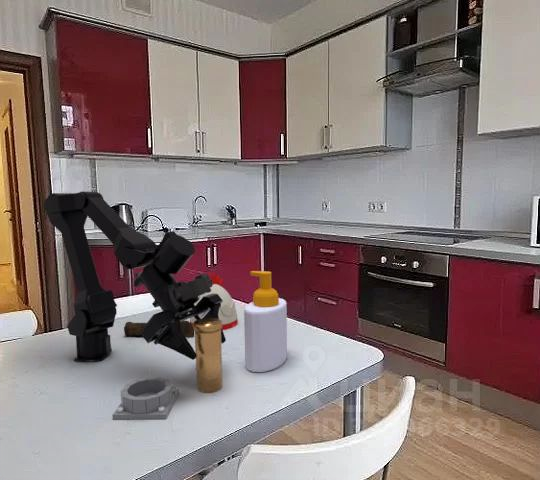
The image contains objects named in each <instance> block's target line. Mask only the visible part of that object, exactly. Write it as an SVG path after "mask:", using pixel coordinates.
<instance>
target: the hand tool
mask: <svg viewBox="0 0 540 480" xmlns="http://www.w3.org/2000/svg"><path fill="white" fill-rule="evenodd" d="M146 323H147V322H132V321H127V322H125V324H124V327H123V333H124V336H125V337H129V336H130V337H133V336H142V328H143V327H144V326H145V325H146ZM180 323H181V331H182V333H183V334H184V336H185V337H186V339H189V338H193V337H194V338H195V331H194V328H193V326H192V324H191V323H190V320H184V321H182V322H180Z"/></svg>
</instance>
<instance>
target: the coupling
mask: <svg viewBox="0 0 540 480" xmlns="http://www.w3.org/2000/svg"><path fill="white" fill-rule="evenodd" d="M193 324H194V343H195V344H194V345H195V346H194V347H195V349H194V351H195V353H196V355H197V357H196V358H195V372H196V375H195V376H196V390H197V391H198V392H201V393H203V394H209V393H210V394H212V393H215V392H219V391H221V389H222V388H223V357H222V356H223V355H222V353H223V352H222V351H223V349H222V343H221V329H222V321H221V320H220V319H217V318H203V319H199V320H196V321H194V323H193Z"/></svg>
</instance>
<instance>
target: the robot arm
mask: <svg viewBox="0 0 540 480" xmlns="http://www.w3.org/2000/svg"><path fill="white" fill-rule="evenodd" d="M43 207H44V211H45V213H46V216H47V218H48V220H49V222H50V224H51V225H52V226H53V227H55V228H56V230H58V231H59V232H60V234H61V237H62V240H63V244H64V245H63V246H64V247H65V251H66V254H67V258H68V261H69V262H68V263H69V265H70V268H71V269H70V270H71V272H72V275H73V279H74V282H75V286H76V290H77V294H76V297H75V301H74V303H73V308H74V316H73V317H72V318H71V320H70V321H69V322H68V324H67V326H66V327H67V331H68V334H69V335H70V336H73V337H74V336H75V344H76V356H75V357H74V358H73V361H74V362H101V361H103V360H104V359H105V358H106V357H107V356H108V355H109V354H110V353H111V352H112V351H113V349H112V345H111V334H109V330H108V329H109V328H113V327H114V324H115V319H116V315H117V311H118V310H117V307H118V304H117V303H116V301H115V298H114V297H115V296H114V293H113V290H111V289H109V290H106V289H105V288H104V287H103V286H102V285H101V281H100V279H99V275H98V272H97V268H96V264H95V261H94V258H93V255H92V252H91V247H90V244H89V240H88V238H87V234H86V230H85V225H86V223H87V218H89V220H91V222H93V223H94V224H95V226H96V227H97V228H98V229H99V230H100V231H101V232H102V233H103V234H104V236H105V237H106V238H107V239H108V240H109V241H110V242H111V244H112V246H113V254H114V255H115V257H116V259H117V260H118V261H119V264H120V265H121V266H122V267H123V268H124V269H125V270H134V269H140V268H143V269H141V271H140V272H136V273H135V277H134V281H133V286H134V287H135V288H138V287H141V286H144V287H145V289H146V290H147V291H148V293H149V294H150V295H151V297H152V298H153V300H154V301H153V302H152V306H153V307H154V308H158V307H160V309H161V310H162V311H159V312H157V313H154V314H152V316H151V317H150V318H149V319H148V321H147V322H145V323H146V325H145V326H144V327H143V328H142V335H141V337H143V340H144V341H146V343H147V344H150V343H152V342H153V344H154V345H161V346H164V347H166V348H168V349H171V350H172V351H175V352H177V353H179V354H180V355H182V356H185V357H187V358H189V359H191V360H196V357H197V355H196V351H195V349H194V347H193V346H192V344H191V343H190V342H189V340H188V338H186V337H185V336H184V334H183V333H182V331H181V323H180V322H182V321H188V320H190V318H191V317H194V318H195V319H196V320H199V319H203V318H217V319H219V316H218V313H219V308H220V307H221V303H222V302H223V300H222V299H221V298H220V296H219V295H218V294H214V293H212V294H210V295H207V296H204V297H203V298H202V299H201V300H200V301H199V302H198V303H197V305H196V306H195V305H194V303H196V302H197V301H198V300H199V297H198V296H200V295H202V294H204V293H206V292H207V293H209V292H211V288H210V287H212V285H213V283H212V282H213V281H212V279H211V278H210V277H209V275H208V274H207V273H206V272H204V273H200V274H199V275H196V276H195V277H194V279H192V280H189V281H187V282H185V281H183V280H182V281H179V282H178V280H177V279H176V278H175V277H174V275H176V274H177V275H178V274H179V273H180V272H181V270H183V268H184V267H185V265H186V264H187V263H188V262H189V260H190V259H191V258H192V257H193V255H195V253H196V248H195V246H194V244H193V243H192V242H191V240H188V239H187V238H186V237H184V236H182V235H179V234H177V233H176V232H175V231H167V232H166V233H165V234H164V235H163V237H162V239H161V241H160V242H159V244H157V243H156V242H155V241H154V240H152V239H151V238H150V237H148V236H147V235H146V234H144V233H141V232H139V231H137V230H134V229H133V228H131V227H130V226H129V224H127V222H126V221H125V220H124V219H123V218H122V217H121V216H120V215H119V214H118V213H117V212H116V211H115V210H114V209H113V208H112V207H111V205H109V204H108V203H107V201H106V200H105V199H104V196H103V195H102V194H101V192H99V191H90V190H89V191H85V190H84V191H83V190H82V191H79V192H73V193H72V192H53V193H52V192H51V193H50V194H48V196H47V198H46V199H45V200H44V202H43ZM226 340H227V339H226V336H225V333H224V330H222V329H221V344H224V343H225V342H226Z"/></svg>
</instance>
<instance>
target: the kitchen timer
mask: <svg viewBox="0 0 540 480" xmlns="http://www.w3.org/2000/svg"><path fill="white" fill-rule="evenodd" d="M208 276H209V277H210V278H211V279H212V281H213V282H212V283H213V285H212V287H210V288H211V292H209V293H207V292H206V293H204V294H202V295H200V296H198V297H199V300H198V301H197V302H196V303H194V305H195V306H196V305H197V303H198V302H199V301H200V300H201V299H202V298H203V297H204V296H207V295H210V294H212V293H214V294H218V295H219V296H220V298H221V299H222V300H223V302H222V303H221V307H220V308H219V313H218V316H219V319H220V320H221V321H222V330H223V331H227V330H229V329H233V328H234V327H236V326H237V325H238V320H239V319H238V313H237V309H236V302H235V301H234V299H233V298H232V296H231V295H230V293H229V292H228V291H227V290H226V288H224V287H223V282H224V279H223V278H221V277H220V276H219V275H217V273H214V272H213V273H209V275H208ZM194 321H196V319H195V318H194V317H191V318H189V322H190V323H191V324H192V326H193V328H194V324H193V323H194Z"/></svg>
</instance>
